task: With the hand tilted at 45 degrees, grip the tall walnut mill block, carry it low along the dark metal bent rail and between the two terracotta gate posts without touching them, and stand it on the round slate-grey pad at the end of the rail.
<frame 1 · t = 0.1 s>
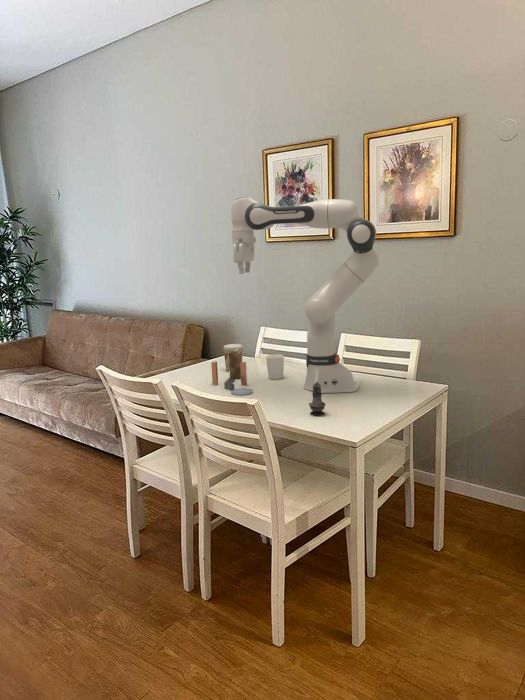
hand: (244, 273, 215), 48 cm above the table, tool pointing down, fingers open, 8 cm apart
mill block: (236, 377, 239), on the table
white cup: (275, 378, 236), on the table
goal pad: (242, 392, 215), on the table
wire course: (229, 385, 227), on the table
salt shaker: (317, 414, 185), on the table
coffee cup: (234, 370, 253), on the table
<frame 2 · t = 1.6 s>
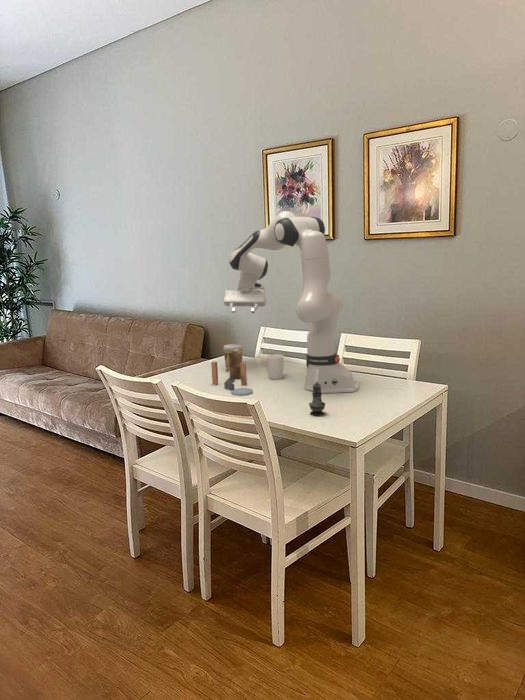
hand: (243, 312, 243), 29 cm above the table, tool tilted 45°, fingers open, 8 cm apart
nothing on the table moved.
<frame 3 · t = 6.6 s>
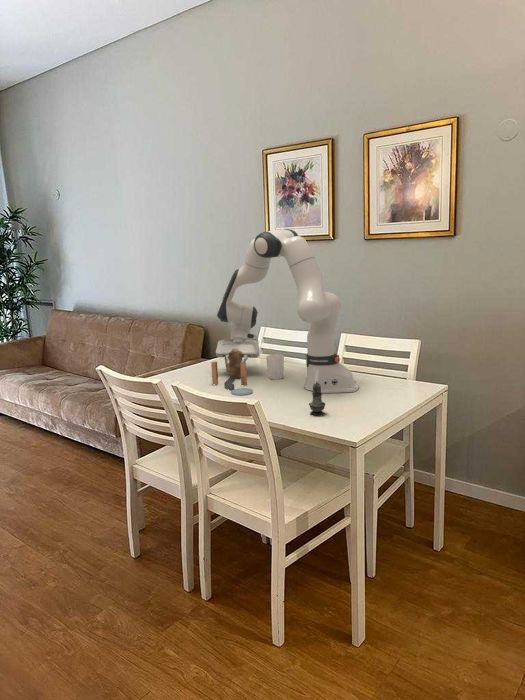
hand: (235, 364, 237), 6 cm above the table, tool tilted 45°, fingers closed on mill block, 5 cm apart
mill block: (236, 377, 239), on the table, touching gripper
everything else where it was.
when the fingers open (8 cm above the table, at t = 15.2 s): mill block stays where it is, resting on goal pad.
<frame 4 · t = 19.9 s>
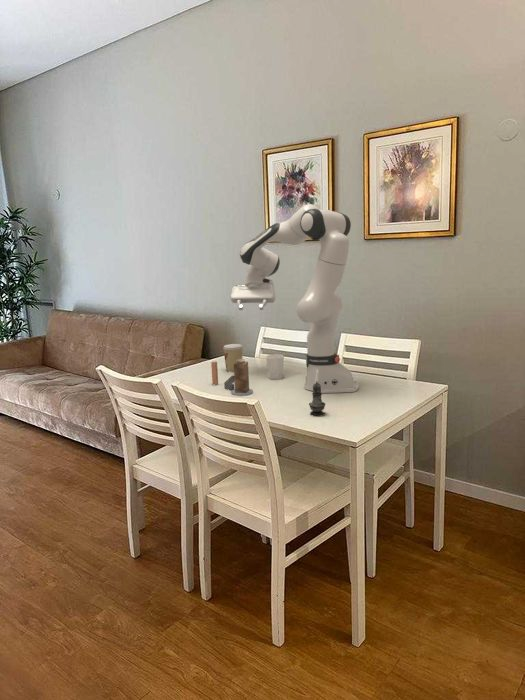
hand: (250, 309, 231), 31 cm above the table, tool tilted 45°, fingers open, 8 cm apart
mill block: (242, 391, 215), point 1 cm above the table, touching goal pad
everything else where it was.
at the end: mill block 0.1 cm from the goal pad (horizontally); mill block tilted 0°; mill block touching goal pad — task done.
